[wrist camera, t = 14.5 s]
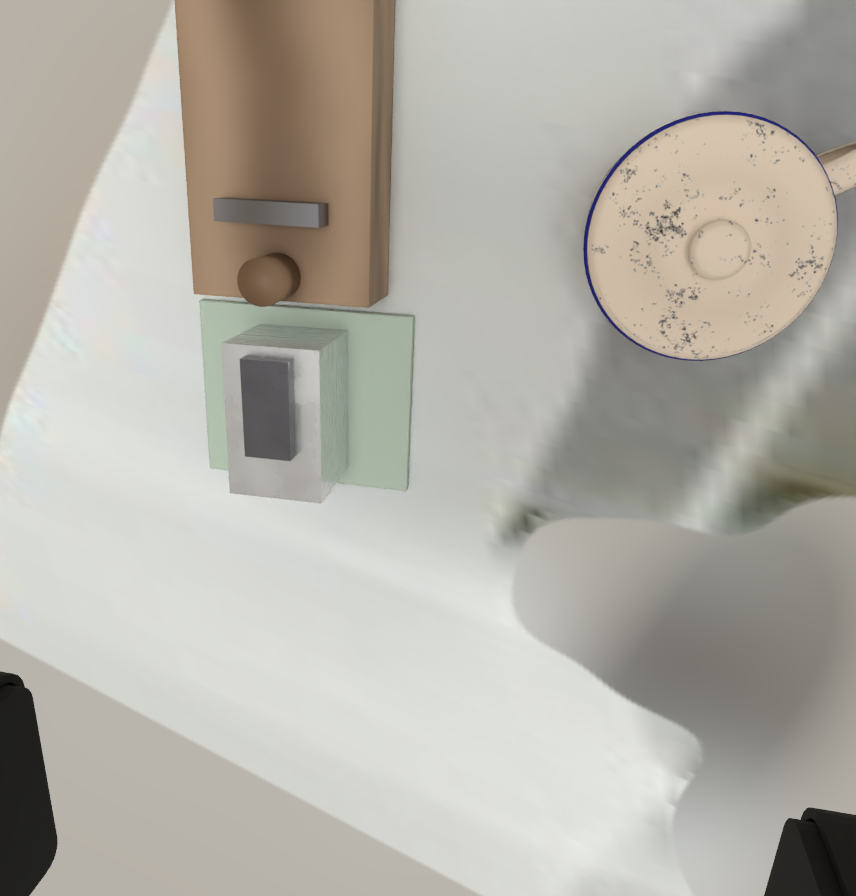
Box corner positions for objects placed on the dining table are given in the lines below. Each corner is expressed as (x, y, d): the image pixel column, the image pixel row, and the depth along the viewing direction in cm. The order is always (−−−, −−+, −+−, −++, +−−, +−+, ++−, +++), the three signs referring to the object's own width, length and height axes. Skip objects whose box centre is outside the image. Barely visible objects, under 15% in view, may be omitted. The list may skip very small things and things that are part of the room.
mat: (414, 315, 40) (412, 317, 39) (408, 487, 43) (406, 491, 43) (203, 299, 42) (199, 300, 41) (213, 465, 45) (210, 468, 45)
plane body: (397, -112, 33) (355, -180, 27) (387, 294, 40) (351, 319, 33) (208, -110, 35) (125, -174, 28) (227, 282, 41) (163, 303, 35)
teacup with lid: (623, 349, 39) (642, 419, 28) (551, 182, 36) (542, 188, 26) (870, 245, 35) (1002, 278, 24) (806, 52, 33) (920, -6, 22)
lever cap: (348, 330, 40) (313, 354, 35) (348, 467, 43) (316, 509, 38) (260, 323, 41) (213, 346, 36) (265, 459, 44) (223, 499, 39)
